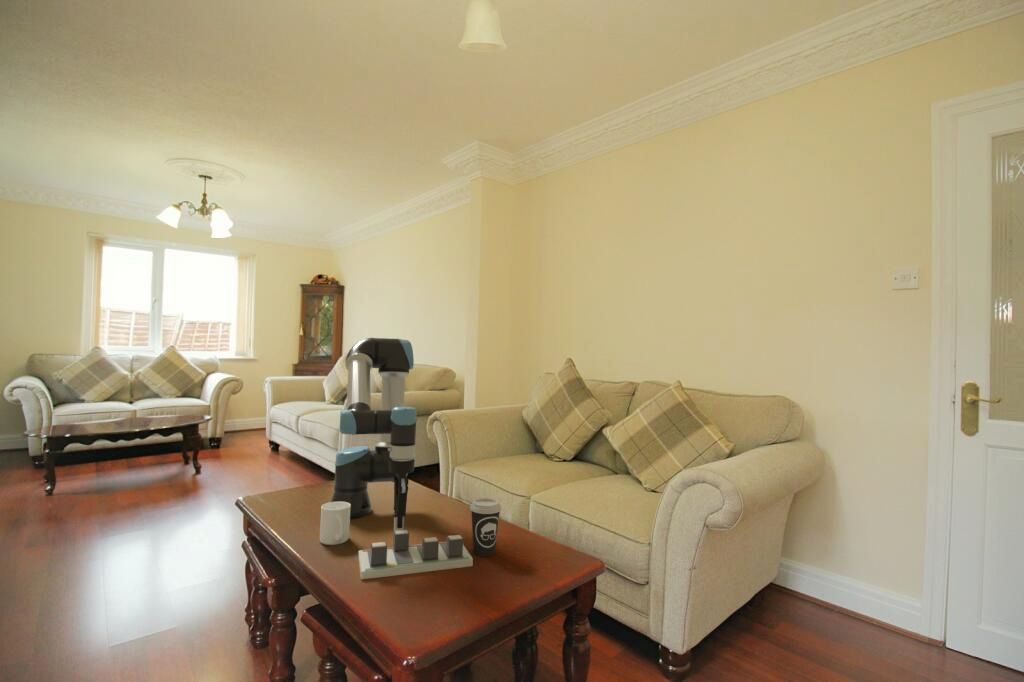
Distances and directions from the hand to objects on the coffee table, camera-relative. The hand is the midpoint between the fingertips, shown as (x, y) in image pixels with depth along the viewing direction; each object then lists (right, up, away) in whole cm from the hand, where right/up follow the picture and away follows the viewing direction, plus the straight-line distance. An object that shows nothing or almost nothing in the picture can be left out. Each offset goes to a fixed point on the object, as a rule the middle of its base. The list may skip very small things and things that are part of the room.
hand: (398, 537), depth 143 cm
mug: (-20, -3, +4) cm, 21 cm away
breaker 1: (-2, 0, -15) cm, 15 cm away
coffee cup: (+26, -5, +1) cm, 26 cm away
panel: (+7, -4, -8) cm, 11 cm away
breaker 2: (+2, -1, -5) cm, 6 cm away
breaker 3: (+11, -1, -10) cm, 15 cm away
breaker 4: (+18, -2, -8) cm, 19 cm away
